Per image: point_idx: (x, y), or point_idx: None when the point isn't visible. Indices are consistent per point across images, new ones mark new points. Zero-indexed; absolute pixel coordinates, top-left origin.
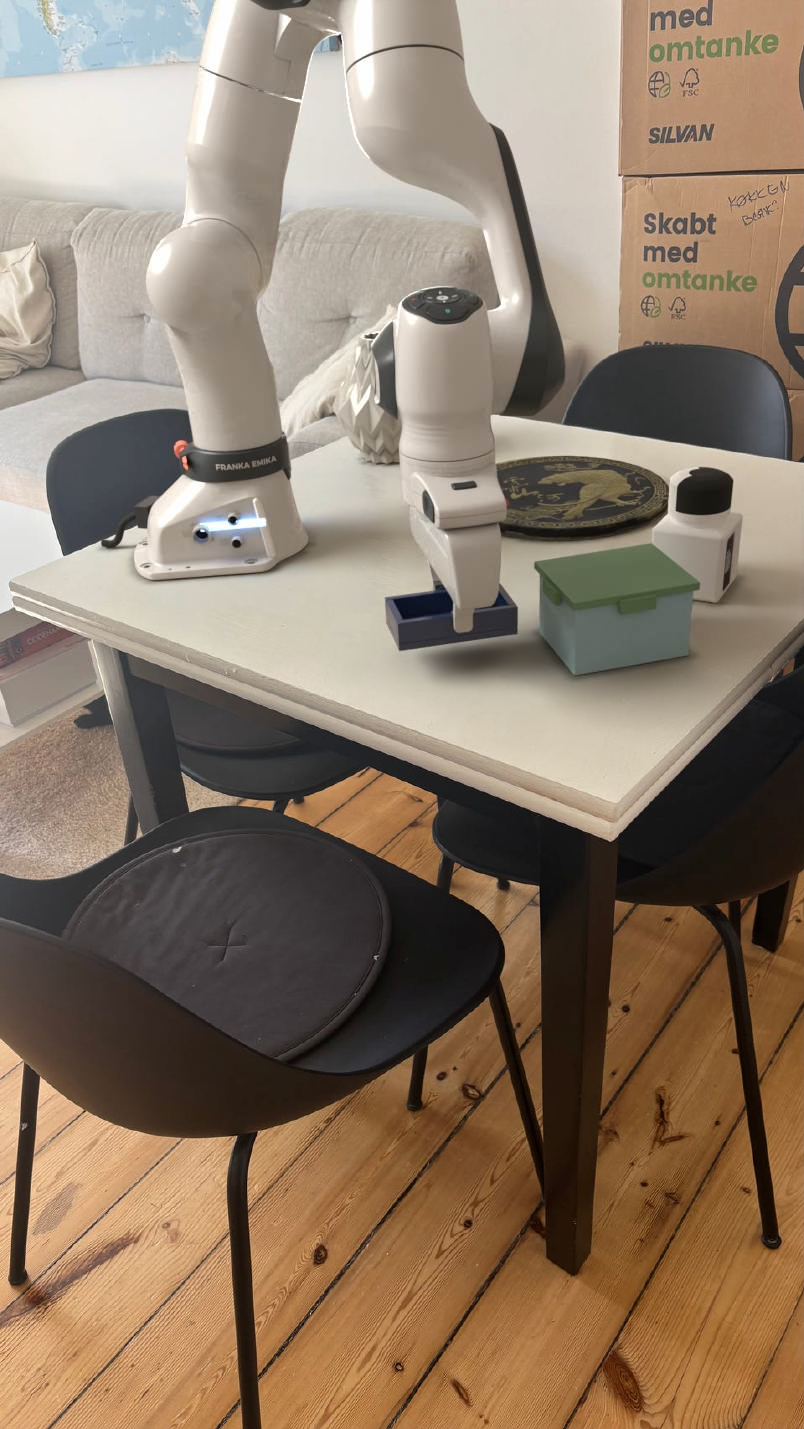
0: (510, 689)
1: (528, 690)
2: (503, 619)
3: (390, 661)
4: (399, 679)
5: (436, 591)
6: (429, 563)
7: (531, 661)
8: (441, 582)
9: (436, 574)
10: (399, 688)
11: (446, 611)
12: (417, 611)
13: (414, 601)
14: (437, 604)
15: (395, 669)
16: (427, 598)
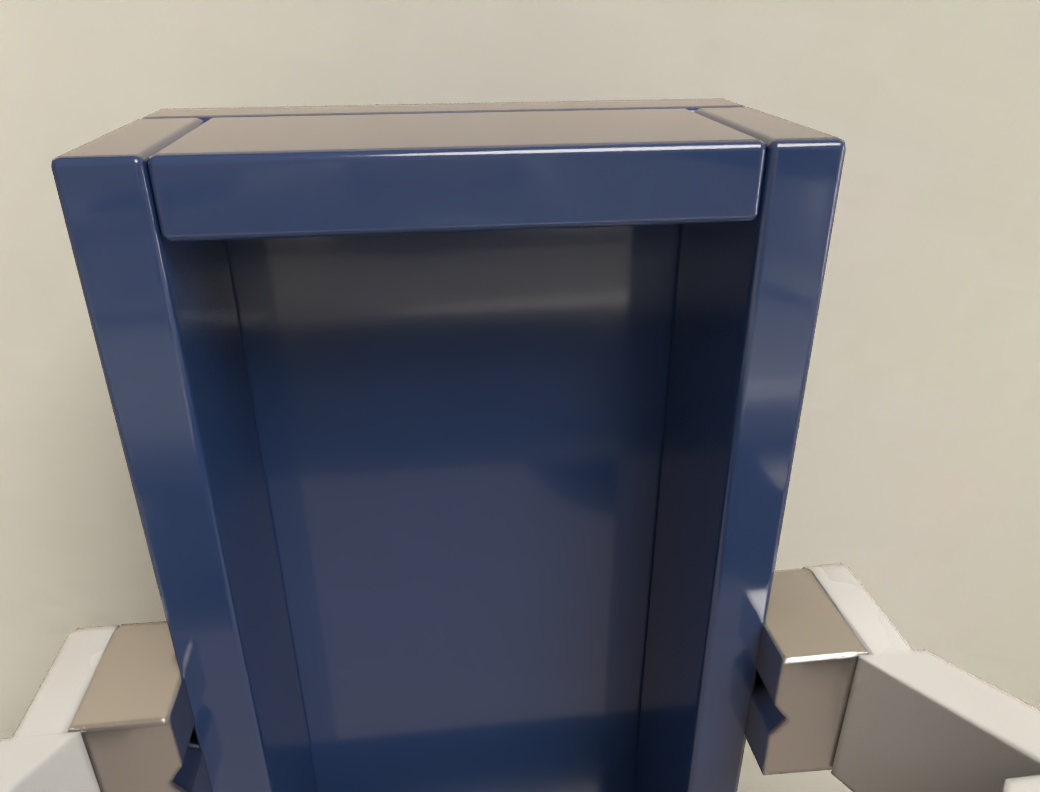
0: (27, 633)
1: (8, 698)
2: None
3: (523, 63)
4: (246, 73)
5: (736, 629)
6: (1029, 783)
7: None
8: (809, 711)
9: (912, 727)
10: (111, 46)
11: (650, 570)
12: (677, 391)
13: (714, 417)
14: (675, 558)
15: (398, 74)
16: (703, 530)
